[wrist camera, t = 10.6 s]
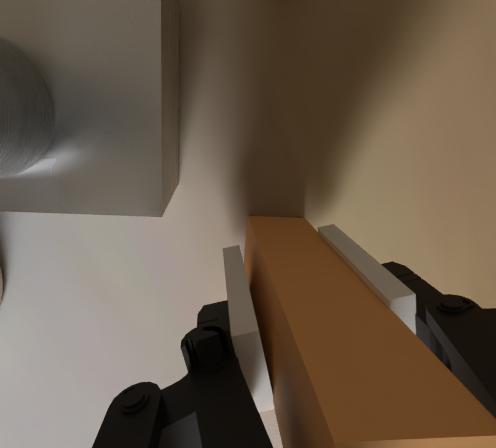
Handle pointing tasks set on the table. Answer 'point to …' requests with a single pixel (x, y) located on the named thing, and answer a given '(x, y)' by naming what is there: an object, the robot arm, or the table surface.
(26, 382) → the table surface
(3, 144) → the grey post stand
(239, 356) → the robot arm
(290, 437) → the tan wooden beam
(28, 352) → the table surface
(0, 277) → the fruit juice
